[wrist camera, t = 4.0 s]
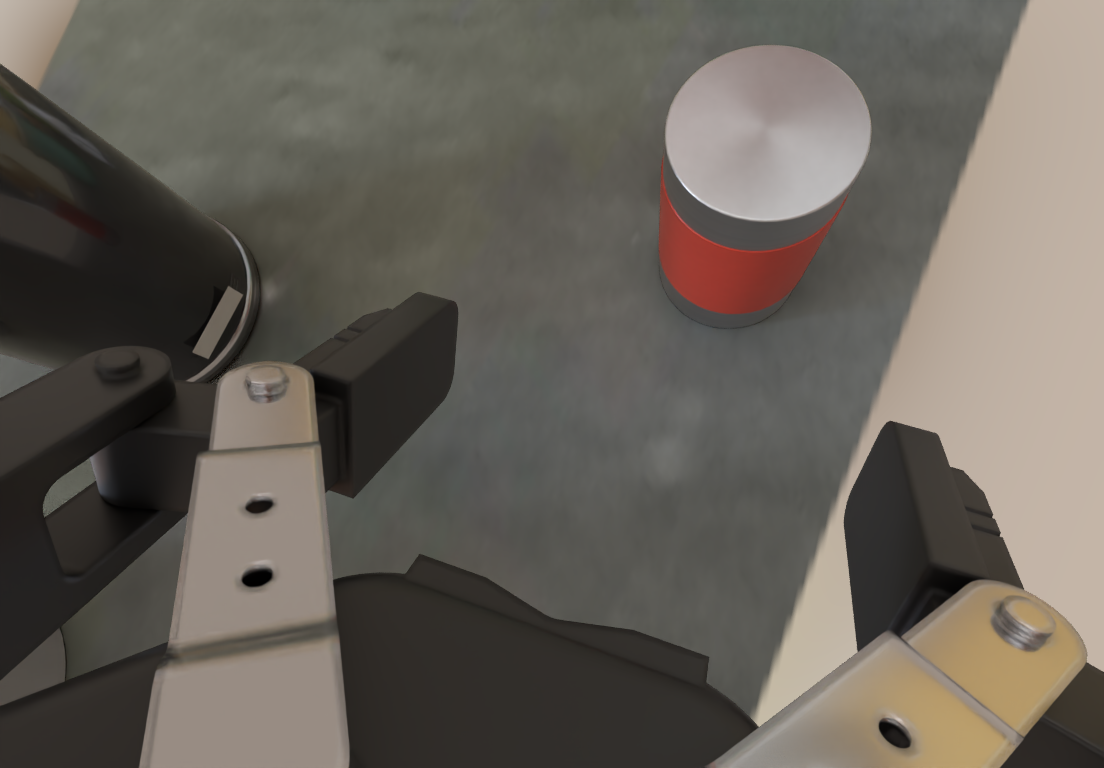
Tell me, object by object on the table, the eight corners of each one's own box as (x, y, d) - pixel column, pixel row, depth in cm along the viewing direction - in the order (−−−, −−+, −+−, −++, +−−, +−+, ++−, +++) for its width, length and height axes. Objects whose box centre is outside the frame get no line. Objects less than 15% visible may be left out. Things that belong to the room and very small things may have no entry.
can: (639, 307, 29) (635, 193, 20) (682, 188, 30) (698, 24, 21) (775, 347, 28) (842, 247, 19) (815, 222, 29) (897, 65, 20)
